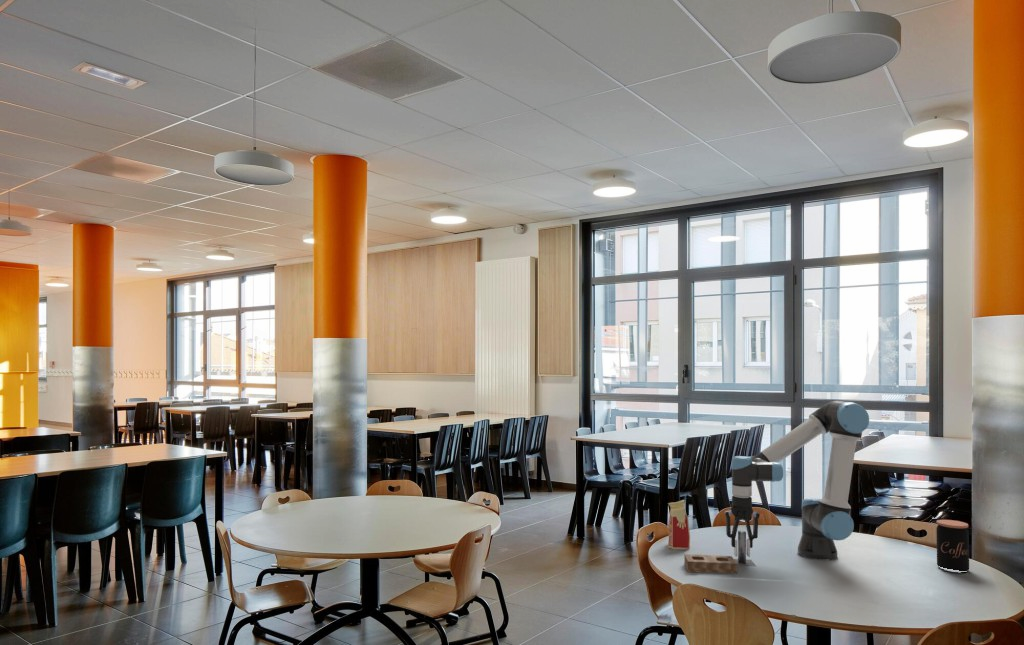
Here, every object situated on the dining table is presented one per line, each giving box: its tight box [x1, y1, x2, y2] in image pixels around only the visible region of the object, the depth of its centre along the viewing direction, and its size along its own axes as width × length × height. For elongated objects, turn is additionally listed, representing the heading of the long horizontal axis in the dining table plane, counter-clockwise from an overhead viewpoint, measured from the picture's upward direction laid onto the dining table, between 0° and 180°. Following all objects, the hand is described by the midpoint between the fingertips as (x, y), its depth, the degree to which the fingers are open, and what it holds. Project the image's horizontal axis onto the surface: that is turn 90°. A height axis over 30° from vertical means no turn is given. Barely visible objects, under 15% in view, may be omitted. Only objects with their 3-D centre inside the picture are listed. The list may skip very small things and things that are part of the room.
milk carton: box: [667, 499, 691, 551], centre depth 298 cm, size 9×9×20 cm
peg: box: [737, 530, 747, 564], centre depth 274 cm, size 3×3×12 cm
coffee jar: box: [935, 519, 970, 572], centre depth 271 cm, size 11×11×18 cm
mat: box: [733, 558, 757, 567], centre depth 274 cm, size 9×9×1 cm
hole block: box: [683, 553, 738, 574], centre depth 266 cm, size 18×10×4 cm, turn 84°
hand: (741, 555), depth 274 cm, fingers open, 4 cm apart
